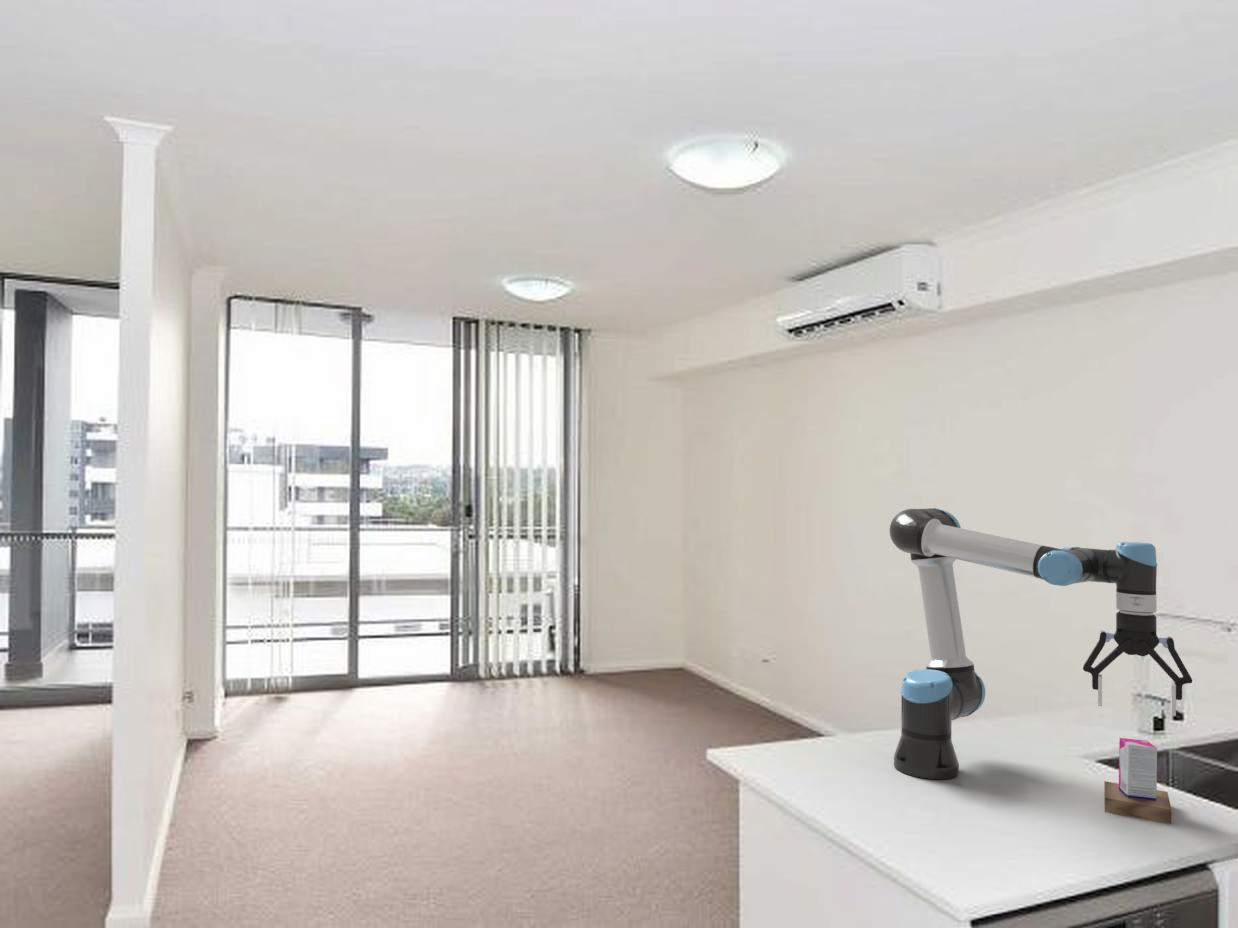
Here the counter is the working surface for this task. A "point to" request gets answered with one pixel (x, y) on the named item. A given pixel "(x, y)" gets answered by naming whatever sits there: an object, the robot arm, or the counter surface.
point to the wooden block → (1137, 805)
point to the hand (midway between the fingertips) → (1135, 709)
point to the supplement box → (1137, 769)
